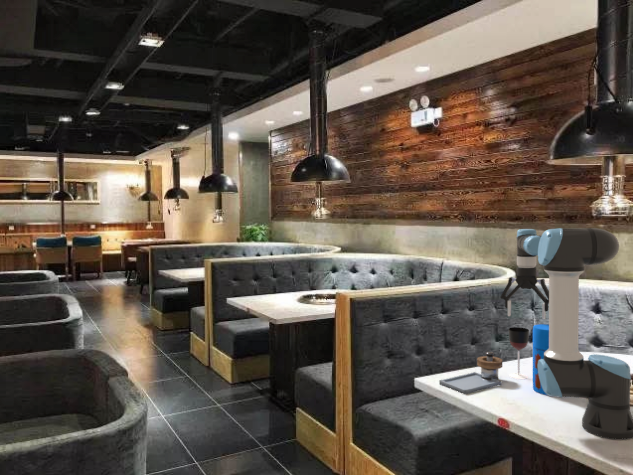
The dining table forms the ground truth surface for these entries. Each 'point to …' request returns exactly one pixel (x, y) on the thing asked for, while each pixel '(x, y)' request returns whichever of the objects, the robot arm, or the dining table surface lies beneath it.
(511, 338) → the wineglass
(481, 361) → the ring
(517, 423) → the dining table surface
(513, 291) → the robot arm
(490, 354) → the metal peg stand
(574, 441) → the dining table surface
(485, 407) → the dining table surface
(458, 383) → the tray
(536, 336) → the thermos
